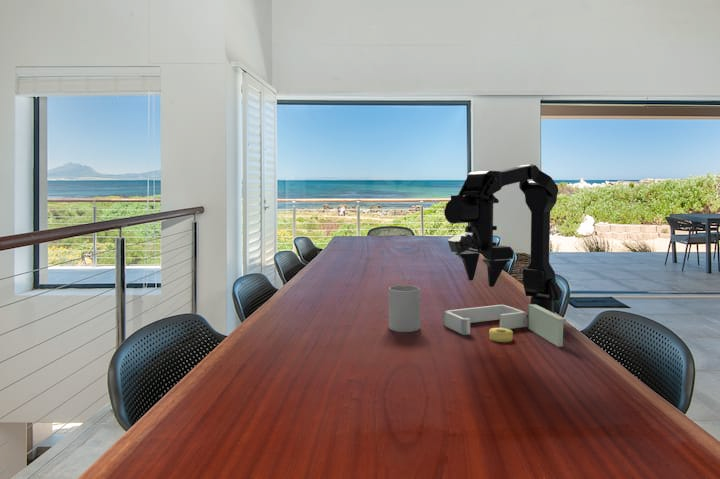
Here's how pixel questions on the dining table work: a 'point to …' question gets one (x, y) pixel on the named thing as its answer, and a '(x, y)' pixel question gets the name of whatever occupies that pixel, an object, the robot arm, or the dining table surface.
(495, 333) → the cord coil
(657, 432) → the dining table surface
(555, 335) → the cover
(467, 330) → the white open pen
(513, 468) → the dining table surface
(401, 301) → the mug
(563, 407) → the dining table surface
